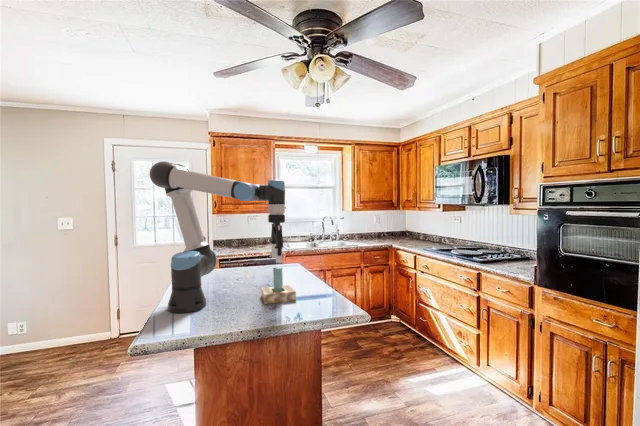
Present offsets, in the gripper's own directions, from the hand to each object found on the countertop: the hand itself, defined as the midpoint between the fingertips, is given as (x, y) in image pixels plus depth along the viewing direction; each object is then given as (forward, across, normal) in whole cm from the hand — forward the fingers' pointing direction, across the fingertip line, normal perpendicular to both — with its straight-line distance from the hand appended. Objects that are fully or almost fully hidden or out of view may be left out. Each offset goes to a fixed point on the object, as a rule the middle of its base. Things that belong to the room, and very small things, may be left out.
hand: (276, 260), depth 145 cm
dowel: (+18, 0, -1) cm, 18 cm away
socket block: (+18, 0, -1) cm, 18 cm away
